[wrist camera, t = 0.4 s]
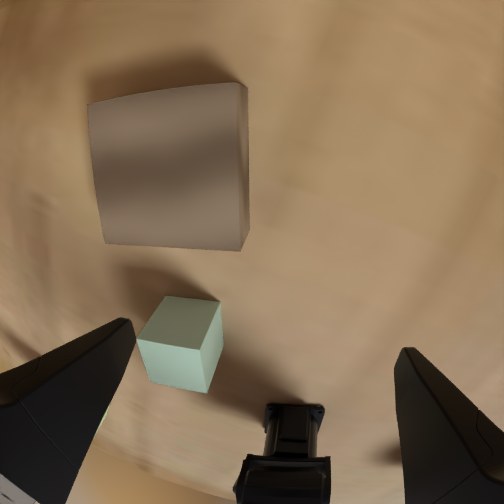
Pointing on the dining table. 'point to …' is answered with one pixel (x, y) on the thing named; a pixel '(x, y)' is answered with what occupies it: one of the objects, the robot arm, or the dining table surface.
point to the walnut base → (173, 167)
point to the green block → (182, 343)
